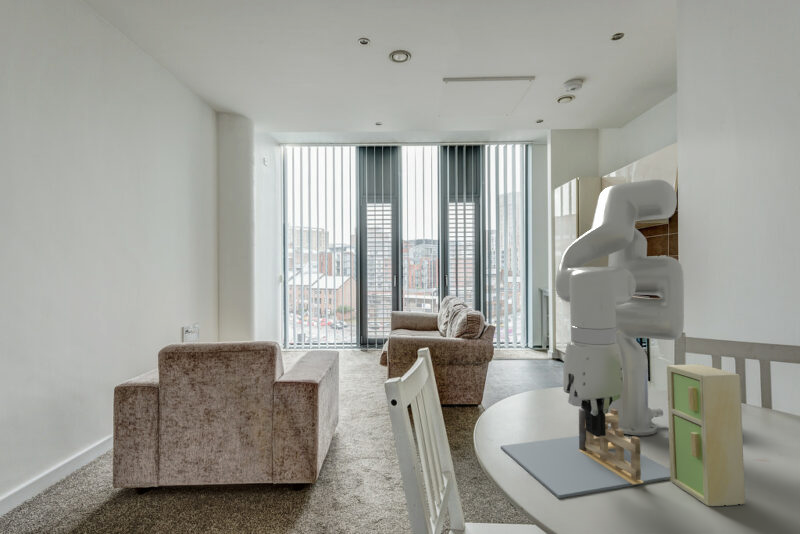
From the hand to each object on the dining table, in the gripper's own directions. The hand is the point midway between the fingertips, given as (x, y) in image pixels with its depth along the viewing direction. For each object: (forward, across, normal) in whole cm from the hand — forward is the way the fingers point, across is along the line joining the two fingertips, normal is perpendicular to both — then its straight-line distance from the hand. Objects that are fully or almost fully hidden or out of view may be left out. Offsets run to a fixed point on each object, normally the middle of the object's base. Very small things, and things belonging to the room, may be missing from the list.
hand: (595, 433), depth 71 cm
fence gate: (+7, -4, -1) cm, 8 cm away
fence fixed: (+8, -8, -8) cm, 14 cm away
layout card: (+8, -1, -5) cm, 9 cm away
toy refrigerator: (+8, -13, +10) cm, 18 cm away
